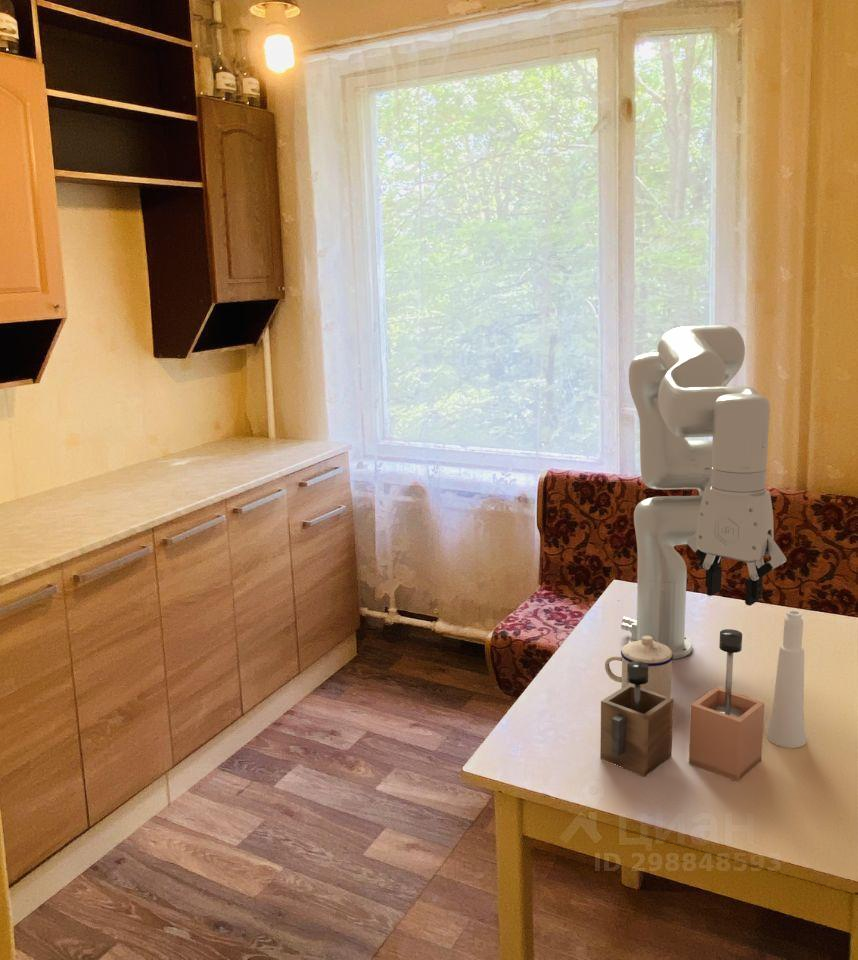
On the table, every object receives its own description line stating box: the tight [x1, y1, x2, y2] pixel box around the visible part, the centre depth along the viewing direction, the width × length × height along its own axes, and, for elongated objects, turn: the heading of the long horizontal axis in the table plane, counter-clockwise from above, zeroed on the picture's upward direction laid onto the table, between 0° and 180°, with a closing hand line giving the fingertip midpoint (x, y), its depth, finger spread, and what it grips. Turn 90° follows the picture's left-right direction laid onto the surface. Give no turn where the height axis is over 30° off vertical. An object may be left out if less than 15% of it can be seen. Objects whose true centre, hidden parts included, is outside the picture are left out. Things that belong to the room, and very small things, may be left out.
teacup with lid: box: [604, 636, 674, 698], centre depth 158 cm, size 12×9×12 cm
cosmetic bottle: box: [765, 609, 807, 749], centre depth 141 cm, size 6×6×22 cm
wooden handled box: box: [599, 684, 674, 778], centre depth 138 cm, size 8×10×10 cm
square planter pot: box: [688, 686, 766, 783], centre depth 137 cm, size 8×10×10 cm
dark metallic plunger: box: [627, 661, 649, 712], centre depth 138 cm, size 6×6×14 cm
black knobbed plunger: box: [709, 628, 745, 718], centre depth 134 cm, size 6×6×14 cm
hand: (732, 596), depth 131 cm, fingers open, 5 cm apart
